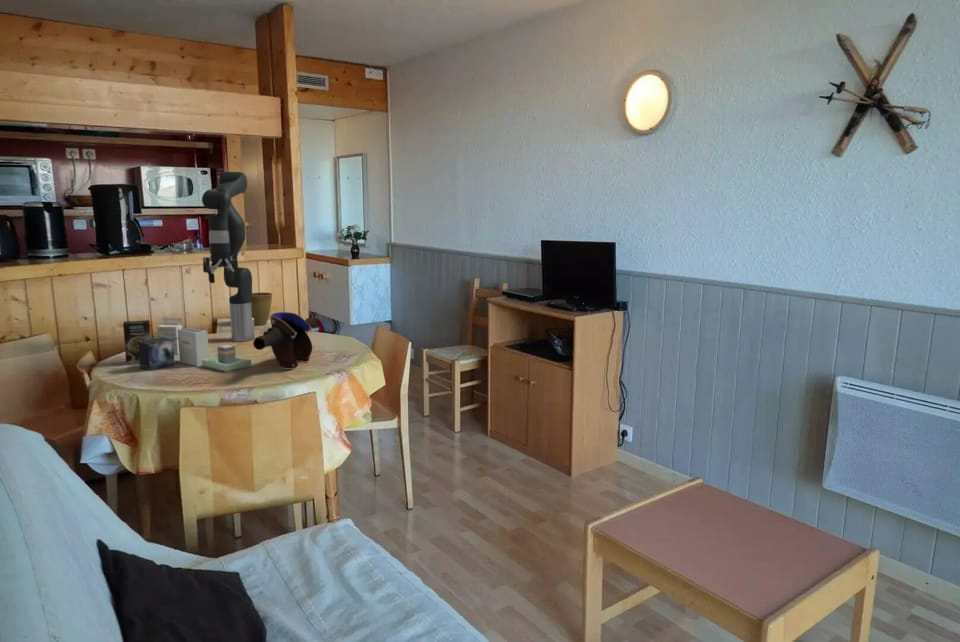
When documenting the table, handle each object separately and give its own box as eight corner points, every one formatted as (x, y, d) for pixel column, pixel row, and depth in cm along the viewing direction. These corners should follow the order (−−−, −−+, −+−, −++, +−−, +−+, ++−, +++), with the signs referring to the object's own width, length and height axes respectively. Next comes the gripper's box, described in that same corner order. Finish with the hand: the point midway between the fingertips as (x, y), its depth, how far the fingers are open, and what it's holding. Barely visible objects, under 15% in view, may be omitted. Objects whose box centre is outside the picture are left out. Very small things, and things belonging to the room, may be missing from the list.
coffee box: (126, 365, 244) (122, 323, 241) (126, 361, 250) (122, 321, 247) (152, 362, 248) (149, 322, 245) (152, 359, 254) (149, 319, 251)
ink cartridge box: (158, 354, 263) (155, 319, 260) (165, 351, 268) (162, 317, 265) (177, 354, 262) (175, 319, 259) (184, 352, 267) (182, 317, 264)
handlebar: (276, 380, 225) (274, 324, 221) (243, 378, 227) (240, 323, 223) (328, 353, 268) (327, 306, 264) (300, 351, 270) (298, 304, 267)
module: (228, 362, 247) (227, 344, 246) (236, 364, 244) (235, 346, 243) (218, 365, 243) (217, 346, 242) (225, 366, 241) (224, 348, 239)
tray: (227, 360, 252) (227, 354, 252) (251, 366, 244) (251, 359, 244) (202, 366, 243) (201, 359, 243) (226, 372, 235) (225, 365, 235)
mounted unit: (193, 359, 255) (190, 326, 252) (210, 363, 248) (208, 329, 246) (179, 362, 250) (176, 328, 247) (196, 366, 243) (194, 332, 241)
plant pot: (278, 322, 337) (277, 292, 335) (265, 327, 323) (263, 296, 320) (251, 321, 339) (250, 291, 336) (237, 326, 325) (236, 295, 322)
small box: (149, 371, 236) (146, 343, 234) (139, 368, 239) (136, 341, 237) (175, 365, 244) (173, 338, 243) (165, 363, 248) (163, 336, 246)
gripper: (229, 240, 263) (231, 279, 266) (197, 242, 252) (200, 282, 255) (240, 241, 259) (242, 281, 262) (208, 242, 248) (211, 284, 250)
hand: (221, 282), depth 258 cm, fingers open, 8 cm apart
